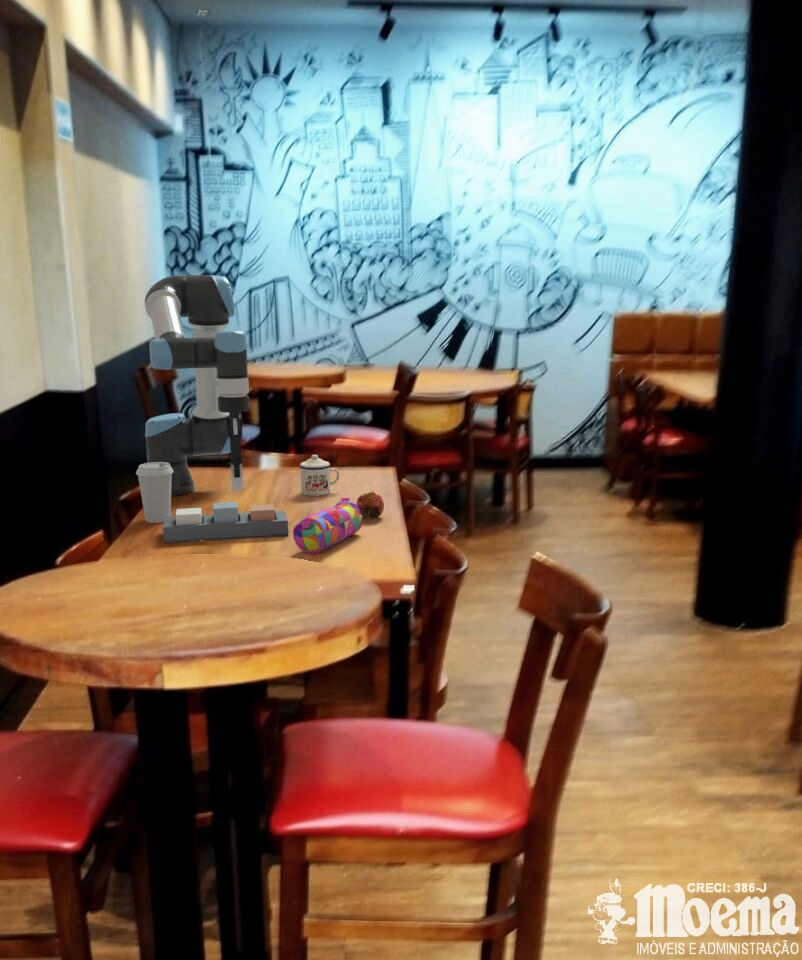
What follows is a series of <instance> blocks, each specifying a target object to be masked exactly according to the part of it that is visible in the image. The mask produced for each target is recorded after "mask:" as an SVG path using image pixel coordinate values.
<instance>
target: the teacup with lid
mask: <svg viewBox="0 0 802 960" xmlns="http://www.w3.org/2000/svg"><path fill="white" fill-rule="evenodd" d="M310 457H311V458H308V459H307V460H305V461H302V462H301V463H300V464H299V468H300V490H301V491H300V492H301V494H302V495H303V494H304V495H303V496H306V495H308V497H318V496H317V495H323V496H326V495H325V494H327V495H328V493H329V494H330V492H331V489H330V488H331V486H333V485H335V484H337V483H338V482H339V480H340V478H341V477H340V476H341V475H340V471H339V470H338V469H337V468H335V467H333V468H330V467H331V464H330V462H329V461H326V460H323V459H322V458H319V456H318V455H317V454H312V455H311V456H310ZM331 472H336V478H335V479H334V481H332V482H331V479H330V478H331V477H330V474H331Z"/></svg>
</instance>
